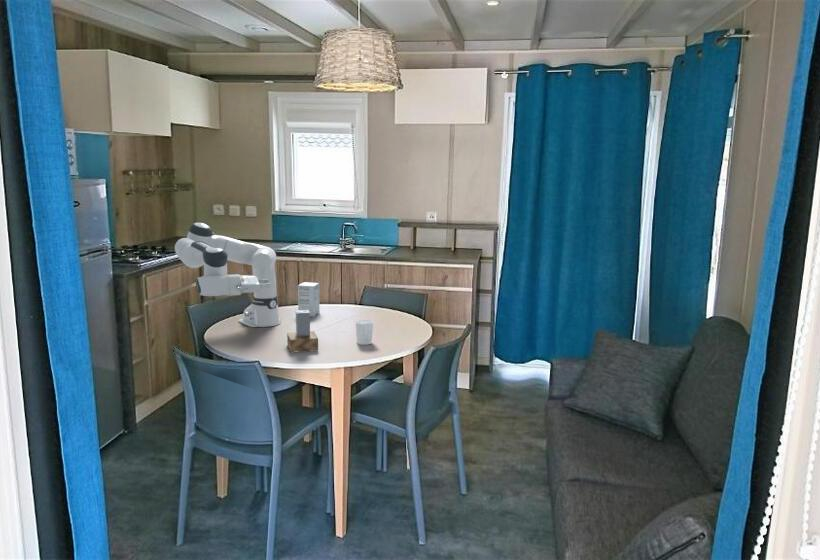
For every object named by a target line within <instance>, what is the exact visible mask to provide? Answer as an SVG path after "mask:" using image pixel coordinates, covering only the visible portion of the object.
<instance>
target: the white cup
mask: <svg viewBox="0 0 820 560" xmlns="http://www.w3.org/2000/svg"><path fill="white" fill-rule="evenodd" d="M373 327H374V322H373V320H370V319H360V320H356V321H355V335H356V344H357V345H360V346H365V345H366V346H367V345H371V344H372V342H373V341H372V340H373V329H374V328H373Z"/></svg>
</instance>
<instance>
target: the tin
mask: <svg viewBox="0 0 820 560" xmlns="http://www.w3.org/2000/svg"><path fill="white" fill-rule="evenodd" d="M310 320H311V316H310V312H309V310H298V309H295V333H296V335H297V338H300V337H310V332H311V321H310Z"/></svg>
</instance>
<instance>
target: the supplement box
mask: <svg viewBox="0 0 820 560" xmlns="http://www.w3.org/2000/svg"><path fill="white" fill-rule="evenodd" d="M297 310H309V312H310V317H315V316H317V315H318V314H320V313H319V312H320V310H321V309H320V283H319V282H308V281H307V282H306V281H305V282H302V283H299V284H298V285H297ZM316 314H317V315H316Z"/></svg>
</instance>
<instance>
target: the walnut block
mask: <svg viewBox="0 0 820 560" xmlns="http://www.w3.org/2000/svg"><path fill="white" fill-rule="evenodd" d="M286 337H287V338H286V339H287V340H286V341H287V344H286V345H287V347H288V350H289V349H290V350H289V352H290V351H291V352H293V353H295V352H294V351H307V352H311V351H310V350H318V351H319V338H318V335H317V334H316V333H315V331H310V337H300V338H297V335H296V332H287V336H286ZM291 352H290V353H291Z"/></svg>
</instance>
